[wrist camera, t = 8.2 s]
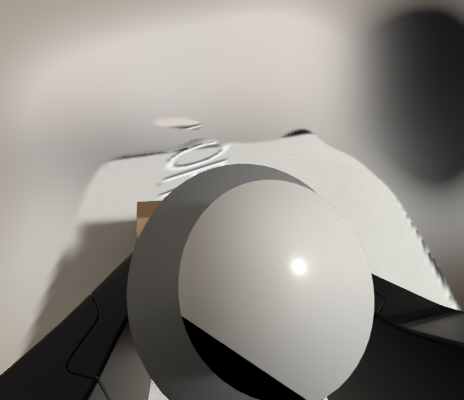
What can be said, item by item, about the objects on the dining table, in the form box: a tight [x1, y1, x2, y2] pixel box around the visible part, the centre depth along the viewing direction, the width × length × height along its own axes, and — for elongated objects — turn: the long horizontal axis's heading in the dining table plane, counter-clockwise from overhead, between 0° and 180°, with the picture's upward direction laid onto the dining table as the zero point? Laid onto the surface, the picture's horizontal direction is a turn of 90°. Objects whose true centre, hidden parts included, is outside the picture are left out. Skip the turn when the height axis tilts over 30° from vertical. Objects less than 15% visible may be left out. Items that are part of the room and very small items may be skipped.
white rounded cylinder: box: [127, 164, 374, 400], centre depth 8 cm, size 4×4×12 cm
